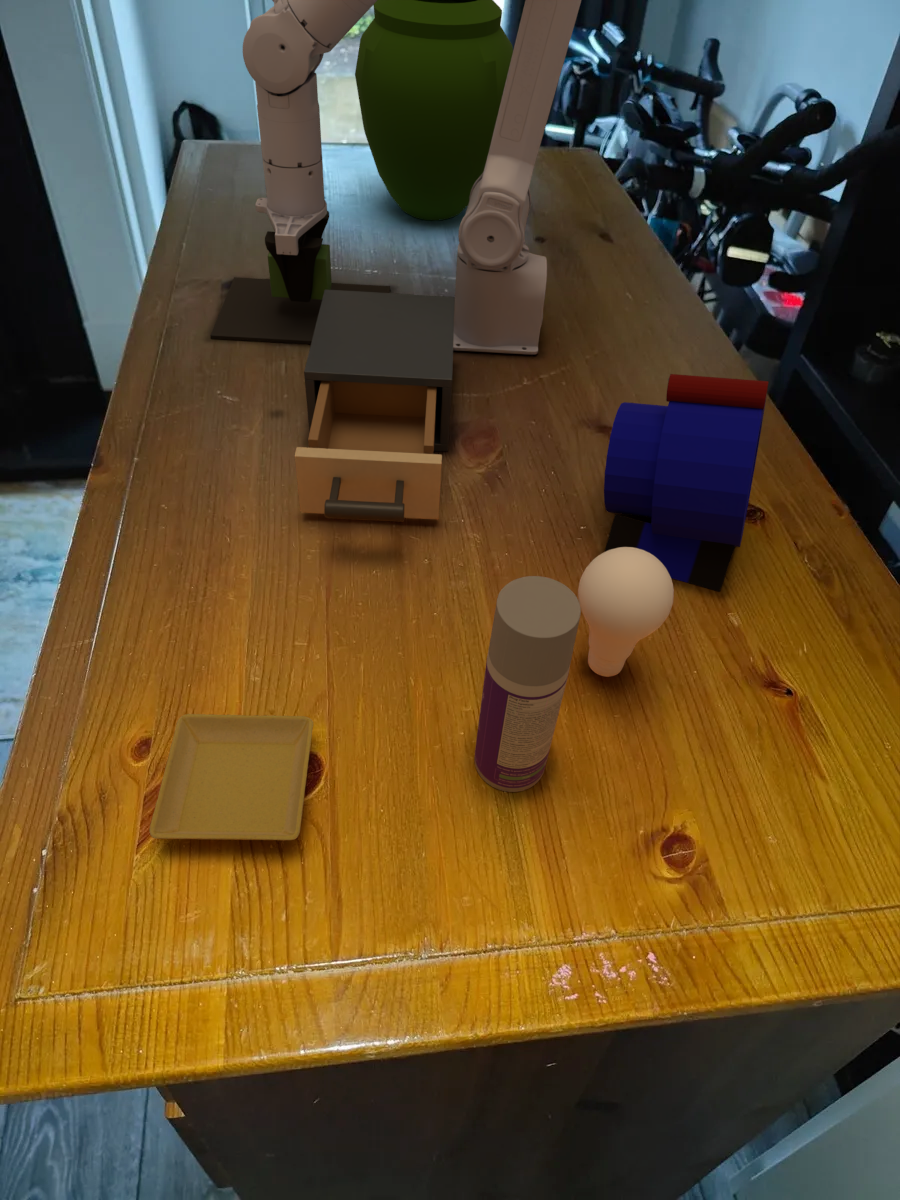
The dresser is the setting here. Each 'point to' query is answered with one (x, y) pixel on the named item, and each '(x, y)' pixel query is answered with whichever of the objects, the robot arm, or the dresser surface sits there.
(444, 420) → the cabinet
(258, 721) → the saucer
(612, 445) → the alarm clock
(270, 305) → the mat
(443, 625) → the dresser surface
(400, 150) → the vase
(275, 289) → the block
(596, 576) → the lightbulb
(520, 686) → the container
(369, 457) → the drawer
